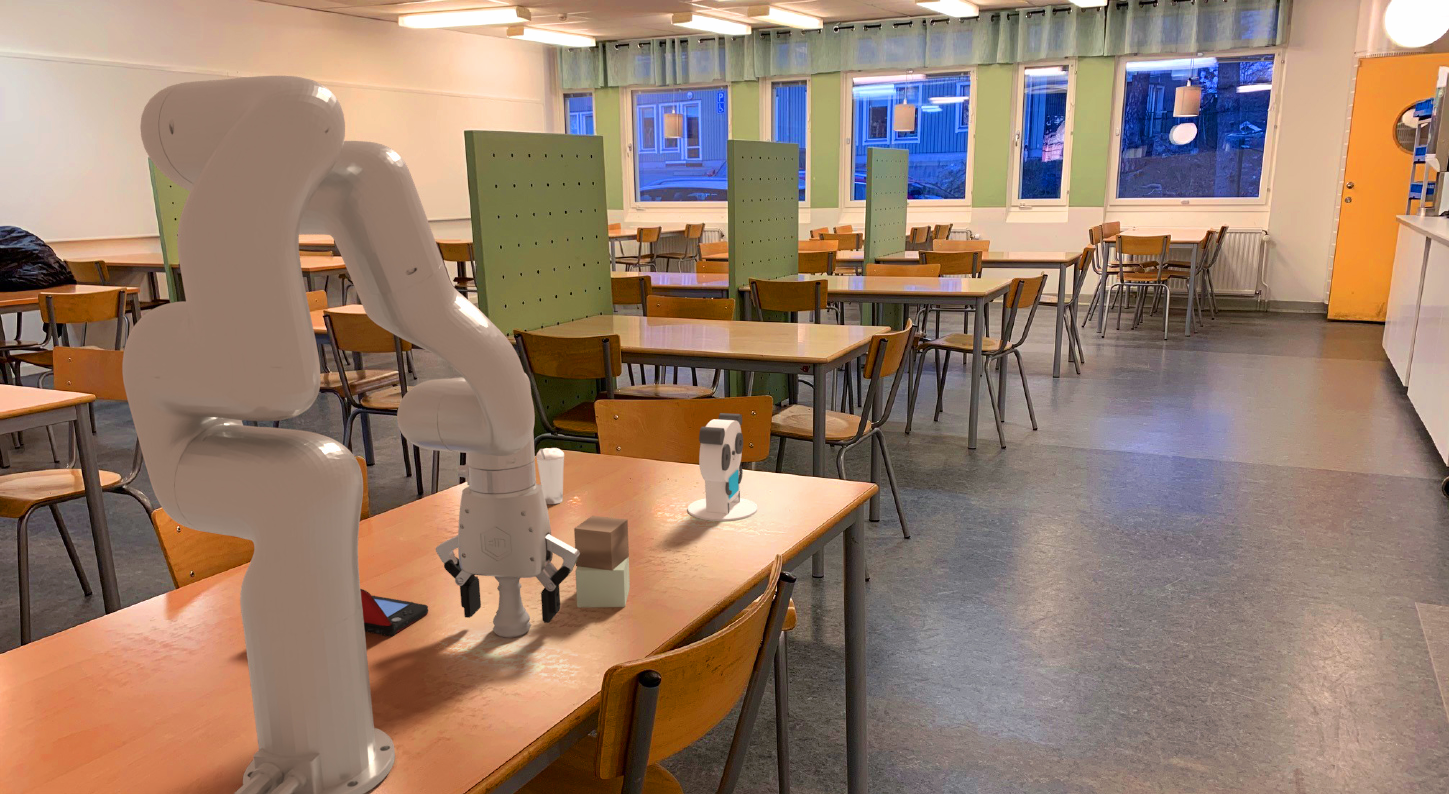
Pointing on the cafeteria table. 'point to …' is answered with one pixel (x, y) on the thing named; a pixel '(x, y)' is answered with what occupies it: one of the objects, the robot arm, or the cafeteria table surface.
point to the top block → (602, 542)
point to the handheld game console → (389, 614)
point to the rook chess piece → (510, 609)
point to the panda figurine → (722, 471)
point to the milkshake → (551, 474)
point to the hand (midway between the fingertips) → (511, 615)
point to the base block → (603, 586)
